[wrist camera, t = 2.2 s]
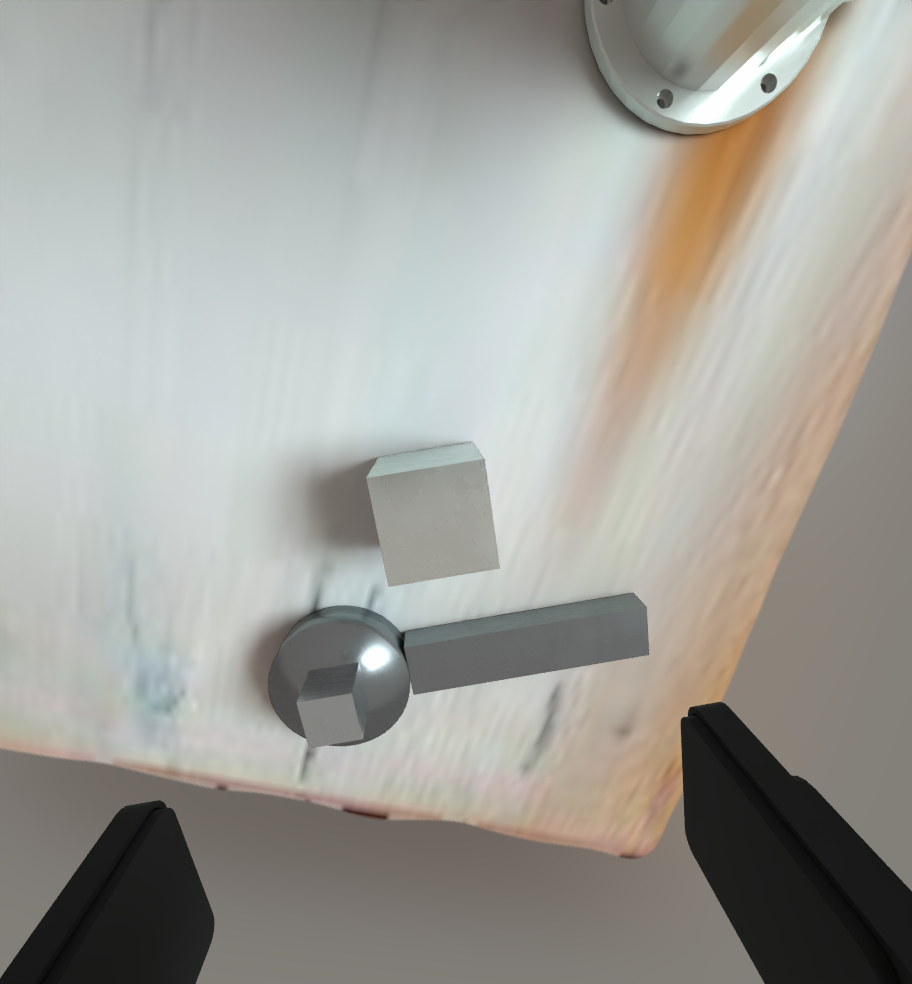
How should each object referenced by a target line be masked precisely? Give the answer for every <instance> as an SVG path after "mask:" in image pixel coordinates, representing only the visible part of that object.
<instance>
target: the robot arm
mask: <svg viewBox="0 0 912 984" xmlns="http://www.w3.org/2000/svg"><path fill="white" fill-rule="evenodd" d="M848 1H854V0H585V20H586V25H587V30H588V36H589V41H590V45H591V48H592V51H593V53H594V56H595V59H596V62H597V64H598V67H599V70H600V71H601V73H602V75H603V76H604V78H605V80H606V82H607V83H608V85H609V87H610V88H611V90H612V91H613V93H614V94H615V95H616V96H617V97H618V98H619V99H620V100H621V102H622V103H623V104H624V105H625V106H626V107H627V108H628V109H629V110H630V111H632V112H633V113H634V114H636V115H637V116H638V117H640V118H641V119H642V120H644V121H645V122H647V123H649V124H652V125H654V126H656V127H658V128H661V129H663V130H665V131H671V132H676V133H681V134H708V133H712V132H716V131H719V130H723V129H727V128H730V127H732V126H734V125H736V124H738V123H740V122H742V121H744V120H746V119H748V118H750V117H751V116H752V115H754V114H755V113H757V112H758V111H759V110H761V109H762V108H763V107H765V106H766V105H767V104H769V103H770V102H771V101H772V100H773V99H774V98H776V97H777V96H778V95H779V94H780V93H781V92H782V91H783V90H784V89H786V88H787V87H788V86H789V85H790V83H791V82H792V81H793V80H794V78H795V77H796V76H797V75H798V73H799V72H800V71H801V69H802V68H803V67H804V66H805V64H806V63H807V61H808V59H809V57H810V56H811V54H812V52H813V50H814V49H815V47H816V45H817V43H818V42H819V40H820V37H821V35H822V32H823V29H824V27H825V24H826V22H827V19H828V16H829V14H830V13H832V12H833V11H834V10H835V9H836V8H837V7H838V6H839V5H841V4H842V3H843V2H848ZM658 104H659V105H660V107H661V108H660V107H659V106H658ZM681 743H682V768H683V793H684V814H685V815H684V816H685V832H686V837H687V841H688V844H689V846H690V849H691V851H692V853H693V855H694V857H695V859H696V861H697V862H698V864H699V866H700V868H701V870H702V872H703V873H704V875H705V877H706V879H707V880H708V882H709V884H710V886H711V888H712V889H713V891H714V893H715V895H716V897H717V898H718V900H719V902H720V904H721V906H722V908H723V909H724V911H725V913H726V914H727V916H728V918H729V920H730V922H731V923H732V925H733V927H734V929H735V931H736V933H737V934H738V936H739V938H740V940H741V942H742V943H743V945H744V947H745V949H746V951H747V952H748V954H749V956H750V958H751V960H752V961H753V963H754V965H755V967H756V969H757V970H758V972H759V974H760V976H761V977H762V979H763V981H764V983H765V984H912V891H911V890H910V889H909V888H908V887H907V886H906V885H905V884H904V883H903V882H902V881H901V880H900V879H899V877H898V876H897V875H896V874H895V873H894V872H893V871H892V870H891V869H890V868H889V867H888V866H887V865H886V864H885V863H884V861H883V860H882V859H881V858H880V857H879V856H878V855H877V854H876V853H875V852H874V851H873V850H872V849H871V848H870V847H869V846H868V844H867V843H866V842H865V841H864V840H863V839H862V838H861V837H860V836H859V835H858V834H857V833H856V832H855V831H854V830H853V829H852V827H851V826H850V825H849V824H848V823H847V822H846V821H845V820H844V819H843V818H842V817H841V816H840V815H839V814H838V813H837V812H836V810H835V809H834V808H833V807H832V806H831V805H830V804H829V803H828V802H827V801H826V800H825V799H824V798H823V797H822V796H821V794H820V793H818V791H817V790H816V789H815V788H813V786H812V785H810V784H809V783H808V782H807V781H806V780H804V779H802V778H800V777H798V776H791V775H790V774H789V773H788V772H787V770H786V769H785V768H784V767H783V766H782V765H781V764H780V763H779V762H778V761H777V759H776V758H775V757H774V756H773V755H772V754H771V753H770V752H769V751H768V750H767V748H766V747H765V746H764V745H763V744H762V743H761V742H760V741H759V740H758V739H757V738H756V736H755V735H753V733H752V732H751V731H750V730H749V729H748V728H747V727H746V725H745V724H744V723H743V722H742V721H741V720H740V719H739V718H738V717H737V716H736V714H735V713H734V712H733V711H732V710H731V709H730V708H729V707H728V706H727V705H726V704H725V703H722V702H717V703H711V704H706V705H700V706H694V707H690V708H689V710H688V717H683V718H682V719H681ZM213 932H214V916H213V912H212V910H211V907H210V904H209V902H208V899H207V897H206V894H205V891H204V889H203V886H202V883H201V881H200V878H199V875H198V873H197V870H196V867H195V865H194V862H193V859H192V857H191V855H190V851H189V849H188V846H187V843H186V841H185V838H184V835H183V833H182V830H181V827H180V825H179V822H178V820H177V817H176V814H175V812H174V811H173V809H171V808H167V807H166V805H165V803H164V802H162V801H160V800H159V801H152V802H146V803H140V804H135V805H130V806H125V807H124V808H122V809H121V810H120V811H119V812H118V813H117V814H116V815H115V817H114V818H113V820H112V821H111V822H110V824H109V825H108V827H107V828H106V830H105V831H104V833H103V834H102V835H101V837H100V838H99V839H98V841H97V843H96V844H95V845H94V847H93V848H92V850H91V851H90V852H89V854H88V855H87V856H86V858H85V859H84V861H83V862H82V863H81V865H80V866H79V868H78V869H77V871H76V872H75V873H74V875H73V876H72V878H71V879H70V880H69V882H68V883H67V885H66V886H65V888H64V889H63V890H62V892H61V893H60V895H59V896H58V897H57V899H56V900H55V902H54V903H53V904H52V906H51V907H50V909H49V910H48V912H47V913H46V914H45V916H44V917H43V919H42V920H41V922H40V923H39V924H38V926H37V927H36V929H35V930H34V931H33V933H32V934H31V935H30V937H29V938H28V940H27V941H26V943H25V944H24V946H23V947H22V948H21V950H20V951H19V952H18V954H17V955H16V957H15V958H14V959H13V961H12V962H11V964H10V965H9V967H8V968H7V969H6V971H5V972H4V974H3V975H2V977H1V978H0V984H196V981H197V978H198V976H199V973H200V971H201V968H202V965H203V962H204V960H205V957H206V955H207V952H208V949H209V947H210V944H211V941H212V938H213Z"/></svg>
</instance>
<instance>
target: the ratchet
mask: <svg viewBox="0 0 912 984" xmlns="http://www.w3.org/2000/svg"><path fill="white" fill-rule="evenodd" d="M645 655H649V641H648V623H647V607H646V606H645V605H644V604H643V602H642V601H641V600H640V599H639V598H638V597H637V596H636V595H635V594H634V593H630V594H624V595H619V596H613V597H607V598H601V599H595V600H589V601H583V602H577V603H571V604H565V605H559V606H553V607H547V608H541V609H535V610H529V611H523V612H517V613H511V614H505V615H499V616H493V617H487V618H481V619H475V620H469V621H463V622H457V623H451V624H445V625H439V626H433V627H427V628H421V629H415V630H409V631H405V639H404V637H403V636H402V634H401V633H400V631H399V630H398V629H397V628H396V627H395V626H394V625H393V624H392V623H391V622H390V621H389V620H387V619H386V618H384V617H383V616H381V615H379V614H377V613H375V612H373V611H370V610H368V609H364V608H360V607H354V606H334V607H329V608H324V609H321V610H318V611H316V612H314V613H312V614H310V615H308V616H306V617H305V618H303V619H302V620H301V621H299V622H298V623H297V624H296V625H295V626H294V627H293V629H292V630H291V631H290V632H289V634H288V635H287V637H286V639H285V641H284V642H283V644H282V646H281V648H280V650H279V652H278V654H277V656H276V657H275V659H274V661H273V664H272V666H271V669H270V673H269V678H268V692H269V696H270V700H271V703H272V706H273V708H274V710H275V712H276V713H277V715H278V716H279V718H280V719H281V720H282V721H283V722H284V724H285V725H286V726H287V727H289V728H290V729H291V730H292V731H294V732H295V733H297V734H298V735H300V736H301V737H303V738H306V739H307V742H308V746H309V748H314V747H320V746H326V745H329V746H351V745H357V744H361V743H364V742H367V741H370V740H372V739H374V738H376V737H379V736H380V735H382V734H383V733H385V732H386V731H387V730H389V729H390V728H391V727H392V726H393V725H394V724H395V723H396V722H397V721H398V719H399V718H400V716H401V715H402V713H403V711H404V709H405V707H406V704H407V701H408V697H409V691H410V679H411V684H412V689H413V694H414V695H415V694H421V693H427V692H433V691H438V690H444V689H450V688H456V687H462V686H468V685H474V684H480V683H486V682H492V681H498V680H503V679H509V678H515V677H521V676H527V675H533V674H539V673H545V672H551V671H557V670H563V669H568V668H574V667H580V666H586V665H592V664H598V663H604V662H610V661H616V660H622V659H628V658H634V657H639V656H645Z"/></svg>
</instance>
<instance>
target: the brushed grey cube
mask: <svg viewBox="0 0 912 984" xmlns="http://www.w3.org/2000/svg"><path fill="white" fill-rule="evenodd" d="M366 480H367V485H368V490H369V494H370V499H371V504H372V509H373V514H374V519H375V523H376V528H377V533H378V538H379V543H380V548H381V552H382V557H383V562H384V567H385V572H386V577H387V581H388V586H389V587H390V586H396V585H402V584H408V583H414V582H420V581H426V580H433V579H439V578H445V577H451V576H457V575H463V574H469V573H475V572H481V571H487V570H493V569H499V568H500V566H499V559H498V551H497V544H496V537H495V530H494V523H493V515H492V508H491V501H490V494H489V487H488V480H487V472H486V465H485V459H484V457H483V456H482V454H481V452H480V451H479V449H478V448H477V446H476V445H475V443H474V442H469V443H462V444H456V445H450V446H444V447H438V448H431V449H425V450H419V451H413V452H406V453H400V454H394V455H388V456H382V457H378V459H377V460H376V462H375V464H374V465H373V467H372V469H371V471H370V472H369V474H368V476H367V477H366Z"/></svg>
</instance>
